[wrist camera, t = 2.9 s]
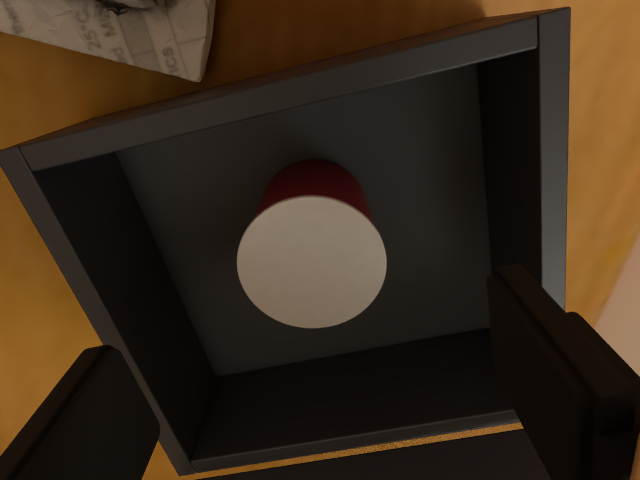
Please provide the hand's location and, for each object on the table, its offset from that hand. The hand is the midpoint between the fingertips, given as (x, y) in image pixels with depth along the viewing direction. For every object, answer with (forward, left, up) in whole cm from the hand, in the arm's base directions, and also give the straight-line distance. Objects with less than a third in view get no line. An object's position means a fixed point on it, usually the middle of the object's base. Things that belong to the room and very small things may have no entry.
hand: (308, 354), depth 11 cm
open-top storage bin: (+1, 0, -10) cm, 10 cm away
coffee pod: (0, 0, -9) cm, 9 cm away
